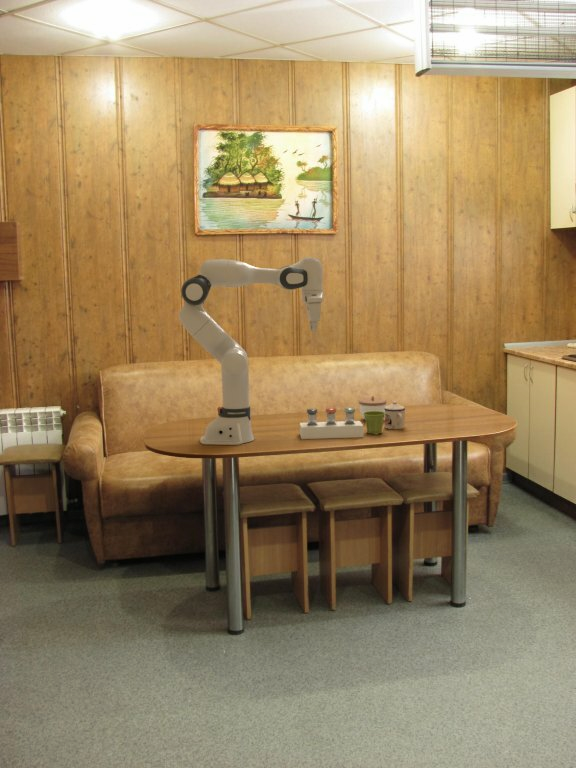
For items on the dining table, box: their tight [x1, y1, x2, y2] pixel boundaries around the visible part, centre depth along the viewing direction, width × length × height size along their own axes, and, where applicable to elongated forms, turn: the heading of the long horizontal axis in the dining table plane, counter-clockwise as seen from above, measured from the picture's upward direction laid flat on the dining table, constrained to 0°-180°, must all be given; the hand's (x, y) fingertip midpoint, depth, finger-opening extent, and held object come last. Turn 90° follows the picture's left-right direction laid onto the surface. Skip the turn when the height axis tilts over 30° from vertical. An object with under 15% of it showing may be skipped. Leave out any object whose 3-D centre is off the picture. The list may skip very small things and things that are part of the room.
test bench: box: [299, 420, 364, 440], centre depth 342 cm, size 26×10×5 cm, turn 93°
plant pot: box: [363, 411, 385, 435], centre depth 346 cm, size 9×9×9 cm
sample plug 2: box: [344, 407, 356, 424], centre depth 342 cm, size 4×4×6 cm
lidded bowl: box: [358, 395, 387, 420], centre depth 374 cm, size 13×13×11 cm
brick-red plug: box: [325, 407, 337, 424], centre depth 341 cm, size 4×4×6 cm
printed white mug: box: [384, 401, 406, 430], centre depth 354 cm, size 12×9×12 cm
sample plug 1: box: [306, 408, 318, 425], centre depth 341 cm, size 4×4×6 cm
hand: (313, 330), depth 333 cm, fingers open, 8 cm apart
